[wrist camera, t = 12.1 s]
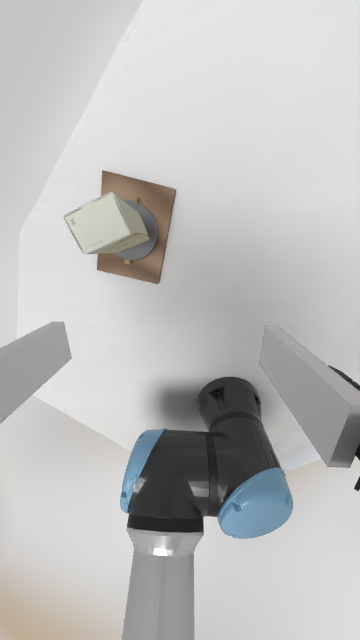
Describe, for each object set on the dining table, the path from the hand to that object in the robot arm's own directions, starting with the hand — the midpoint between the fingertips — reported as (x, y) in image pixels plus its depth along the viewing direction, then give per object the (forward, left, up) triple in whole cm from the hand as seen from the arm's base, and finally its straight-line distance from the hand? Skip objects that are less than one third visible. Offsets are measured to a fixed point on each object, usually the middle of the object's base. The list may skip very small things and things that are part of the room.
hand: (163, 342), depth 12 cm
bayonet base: (+6, +10, -27) cm, 29 cm away
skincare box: (+6, +10, -23) cm, 26 cm away
